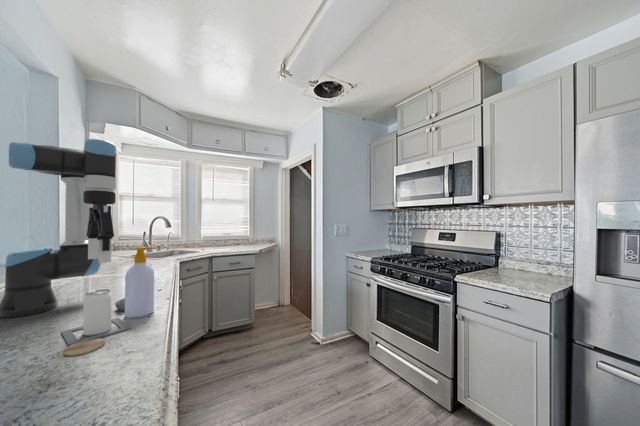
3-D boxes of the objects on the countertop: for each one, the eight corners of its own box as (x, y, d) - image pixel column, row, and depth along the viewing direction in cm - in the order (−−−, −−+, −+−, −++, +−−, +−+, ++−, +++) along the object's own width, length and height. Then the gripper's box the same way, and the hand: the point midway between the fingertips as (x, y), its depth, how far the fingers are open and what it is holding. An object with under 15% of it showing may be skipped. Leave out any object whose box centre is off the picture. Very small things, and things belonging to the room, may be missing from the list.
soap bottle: (151, 316, 90) (152, 248, 91) (120, 319, 88) (121, 249, 88) (159, 308, 99) (160, 246, 99) (130, 311, 96) (131, 246, 97)
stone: (143, 302, 106) (143, 288, 106) (151, 306, 101) (151, 291, 101) (113, 309, 98) (113, 294, 98) (120, 314, 93) (120, 298, 93)
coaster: (61, 349, 67) (61, 346, 67) (100, 338, 73) (100, 336, 74) (66, 359, 62) (66, 356, 62) (108, 346, 69) (108, 344, 69)
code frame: (60, 332, 77) (60, 331, 77) (118, 318, 88) (118, 317, 88) (68, 346, 69) (69, 345, 69) (131, 329, 80) (131, 327, 80)
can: (94, 337, 74) (95, 295, 74) (77, 335, 75) (77, 294, 76) (116, 328, 80) (117, 289, 81) (99, 326, 82) (100, 288, 82)
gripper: (75, 193, 84) (74, 258, 83) (93, 185, 69) (92, 265, 68) (104, 195, 90) (104, 256, 89) (127, 188, 74) (126, 262, 74)
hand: (98, 260), depth 78 cm, fingers open, 13 cm apart
